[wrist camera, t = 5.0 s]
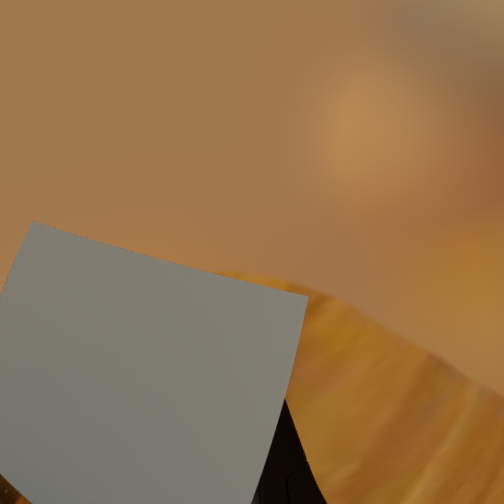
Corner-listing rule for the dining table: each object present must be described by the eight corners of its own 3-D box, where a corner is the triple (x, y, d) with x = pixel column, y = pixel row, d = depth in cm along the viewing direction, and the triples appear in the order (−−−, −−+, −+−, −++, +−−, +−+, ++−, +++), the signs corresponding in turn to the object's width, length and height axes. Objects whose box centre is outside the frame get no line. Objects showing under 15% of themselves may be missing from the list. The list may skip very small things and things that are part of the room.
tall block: (244, 433, 13) (212, 591, 1) (168, 410, 13) (-25, 445, 2) (265, 360, 15) (308, 296, 3) (189, 339, 15) (33, 220, 4)
